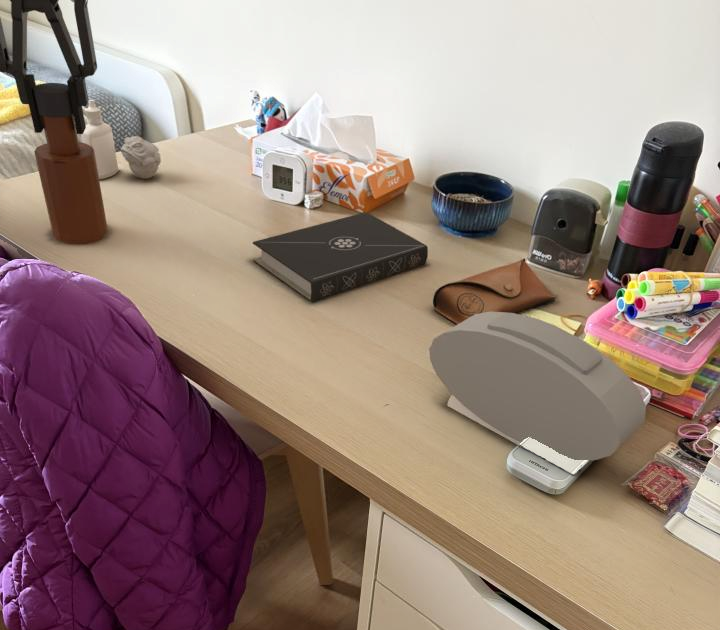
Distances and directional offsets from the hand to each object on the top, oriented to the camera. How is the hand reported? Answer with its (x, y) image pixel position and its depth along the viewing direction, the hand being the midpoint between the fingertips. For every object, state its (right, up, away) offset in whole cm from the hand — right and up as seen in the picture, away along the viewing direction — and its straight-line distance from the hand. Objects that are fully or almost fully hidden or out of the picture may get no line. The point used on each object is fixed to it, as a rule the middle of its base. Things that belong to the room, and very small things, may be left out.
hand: (60, 129), depth 99 cm
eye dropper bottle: (-4, +5, +27) cm, 28 cm away
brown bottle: (-1, -11, +10) cm, 15 cm away
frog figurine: (+3, +5, +28) cm, 28 cm away
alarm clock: (+59, -43, -18) cm, 75 cm away
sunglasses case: (+61, -24, +3) cm, 65 cm away
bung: (0, 0, 0) cm, 0 cm away
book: (+39, -16, +9) cm, 43 cm away
